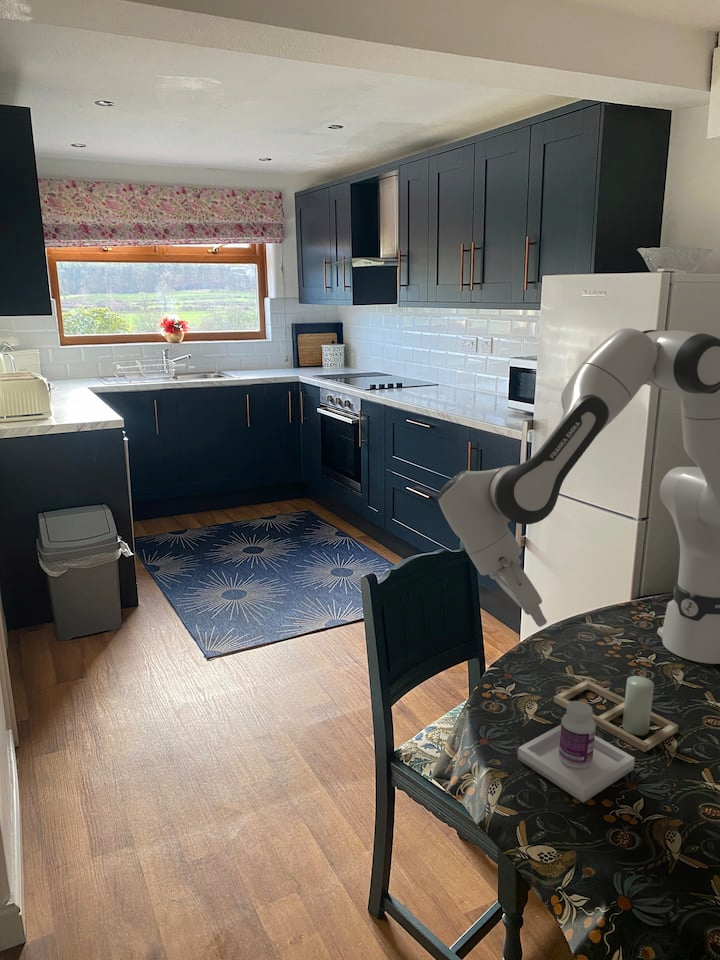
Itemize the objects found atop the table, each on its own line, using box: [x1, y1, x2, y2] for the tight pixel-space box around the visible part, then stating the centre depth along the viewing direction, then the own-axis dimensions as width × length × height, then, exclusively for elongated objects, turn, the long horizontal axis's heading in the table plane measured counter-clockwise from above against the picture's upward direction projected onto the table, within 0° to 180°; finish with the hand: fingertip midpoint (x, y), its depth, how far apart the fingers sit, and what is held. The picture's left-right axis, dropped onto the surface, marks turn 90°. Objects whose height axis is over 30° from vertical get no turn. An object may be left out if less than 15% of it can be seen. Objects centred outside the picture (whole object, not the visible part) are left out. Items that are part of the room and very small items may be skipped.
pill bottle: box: [559, 700, 597, 769], centre depth 115 cm, size 5×5×10 cm
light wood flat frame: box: [553, 679, 679, 753], centre depth 130 cm, size 10×19×1 cm, turn 36°
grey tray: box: [517, 724, 636, 804], centre depth 116 cm, size 13×13×2 cm
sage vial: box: [621, 675, 655, 736], centre depth 125 cm, size 4×4×9 cm
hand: (536, 618), depth 131 cm, fingers open, 8 cm apart
